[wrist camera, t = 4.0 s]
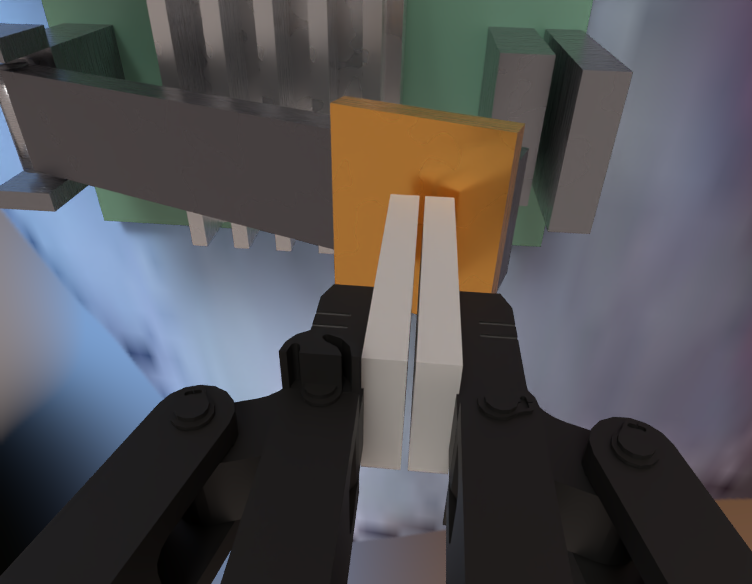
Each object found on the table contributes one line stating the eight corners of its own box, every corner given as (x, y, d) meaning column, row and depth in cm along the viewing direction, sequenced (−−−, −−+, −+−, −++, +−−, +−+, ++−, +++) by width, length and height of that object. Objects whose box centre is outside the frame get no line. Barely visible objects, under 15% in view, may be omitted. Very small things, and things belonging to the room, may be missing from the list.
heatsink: (177, -61, 24) (117, -55, 20) (409, -55, 24) (402, -47, 19) (217, 195, 31) (179, 244, 26) (397, 205, 30) (390, 257, 26)
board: (24, -121, 24) (6, -122, 23) (608, -109, 23) (616, -110, 22) (114, 211, 33) (104, 220, 33) (537, 236, 32) (540, 246, 31)
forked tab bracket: (58, 4, 26) (-69, 36, 19) (108, 5, 26) (-4, 38, 19) (96, 142, 30) (-1, 208, 23) (139, 144, 30) (55, 211, 23)
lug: (488, 26, 25) (506, 66, 19) (582, 29, 25) (632, 71, 18) (472, 155, 28) (483, 227, 22) (555, 159, 28) (589, 234, 22)
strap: (3, 32, 22) (-51, 42, 20) (536, 109, 15) (517, 133, 13) (51, 177, 25) (8, 195, 24) (502, 297, 18) (484, 333, 16)
